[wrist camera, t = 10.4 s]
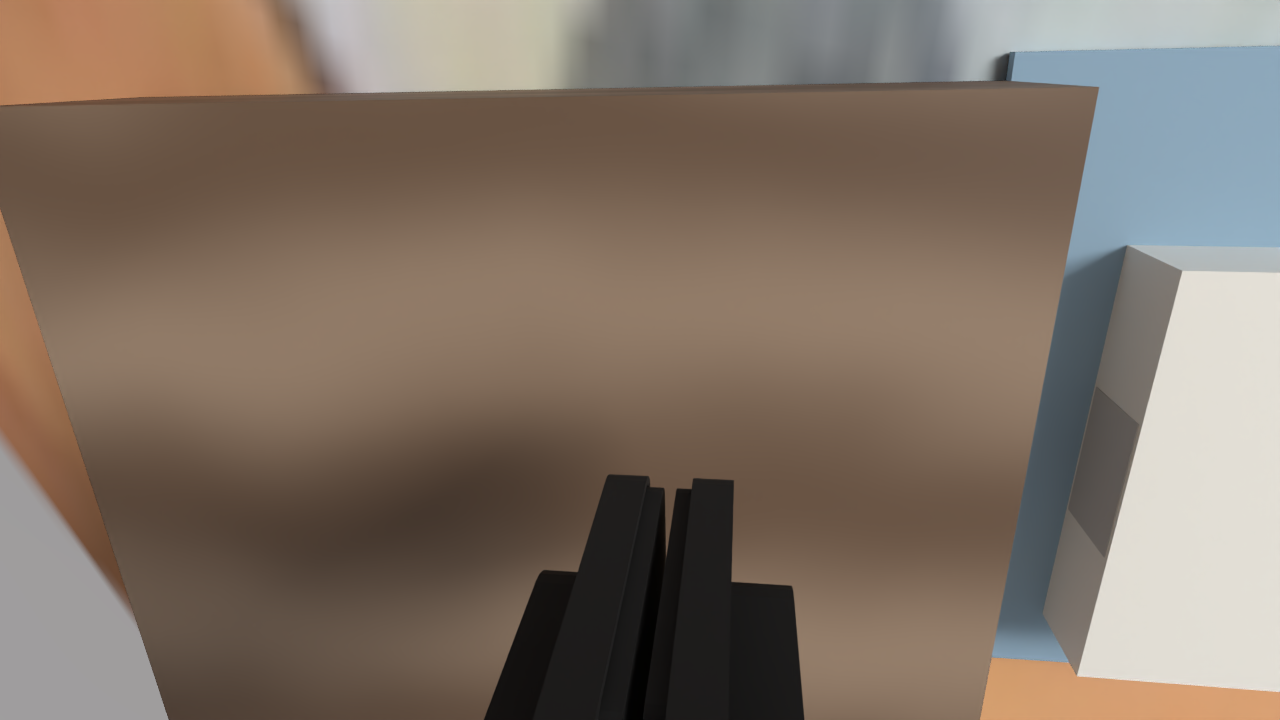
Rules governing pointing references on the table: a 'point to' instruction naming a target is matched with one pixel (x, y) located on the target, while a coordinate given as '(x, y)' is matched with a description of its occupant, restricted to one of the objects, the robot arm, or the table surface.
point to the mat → (1134, 215)
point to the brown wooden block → (546, 365)
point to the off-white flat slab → (1179, 479)
